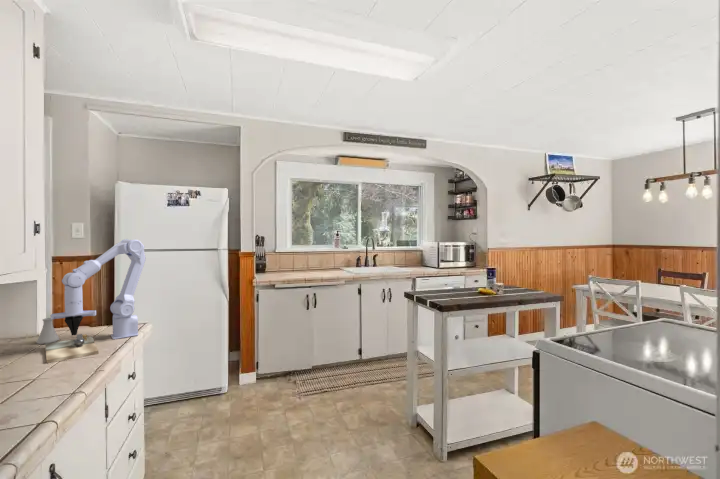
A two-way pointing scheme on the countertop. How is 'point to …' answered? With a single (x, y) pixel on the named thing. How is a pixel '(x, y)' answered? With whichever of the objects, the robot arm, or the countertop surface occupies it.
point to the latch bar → (79, 340)
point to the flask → (47, 332)
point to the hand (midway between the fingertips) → (74, 334)
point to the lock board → (70, 349)
